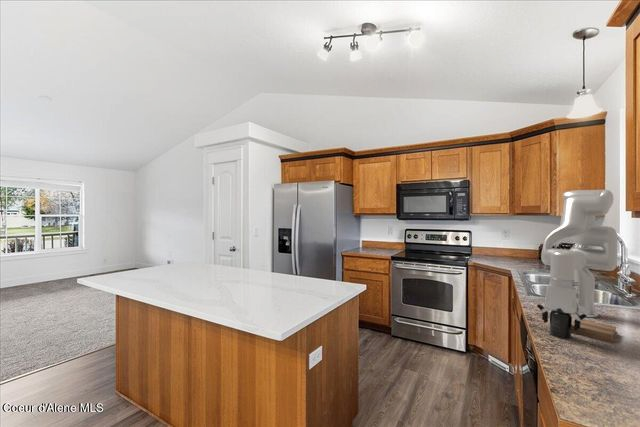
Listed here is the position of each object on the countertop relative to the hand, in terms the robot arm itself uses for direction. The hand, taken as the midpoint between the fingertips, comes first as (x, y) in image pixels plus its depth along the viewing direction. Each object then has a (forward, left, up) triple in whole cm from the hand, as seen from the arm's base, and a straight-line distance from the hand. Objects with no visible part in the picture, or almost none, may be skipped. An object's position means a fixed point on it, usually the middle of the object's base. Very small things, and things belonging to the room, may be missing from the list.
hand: (560, 325), depth 119 cm
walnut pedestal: (-13, +8, -4) cm, 16 cm away
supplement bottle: (0, 0, -4) cm, 4 cm away
